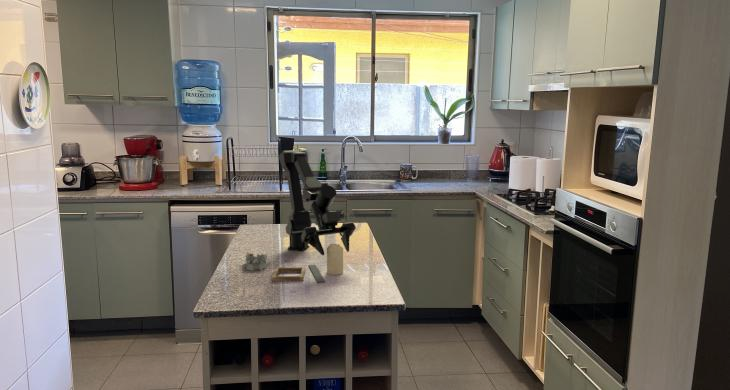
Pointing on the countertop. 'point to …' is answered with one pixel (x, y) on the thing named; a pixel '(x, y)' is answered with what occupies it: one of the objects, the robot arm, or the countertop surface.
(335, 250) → the candle
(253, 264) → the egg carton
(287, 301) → the countertop surface
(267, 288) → the countertop surface
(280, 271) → the keeper frame
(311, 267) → the strip
